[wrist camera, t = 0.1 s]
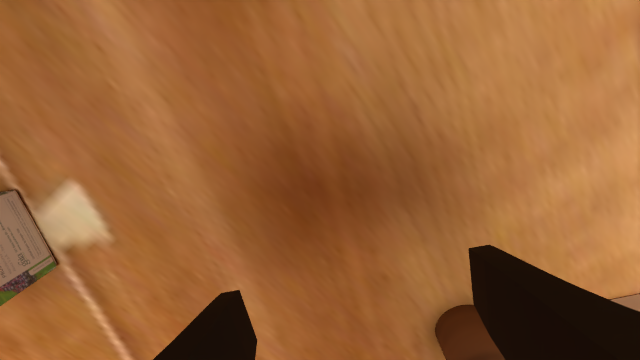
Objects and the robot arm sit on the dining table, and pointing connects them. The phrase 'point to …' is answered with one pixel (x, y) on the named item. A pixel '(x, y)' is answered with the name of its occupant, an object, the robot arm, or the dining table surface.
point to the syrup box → (20, 248)
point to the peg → (465, 336)
